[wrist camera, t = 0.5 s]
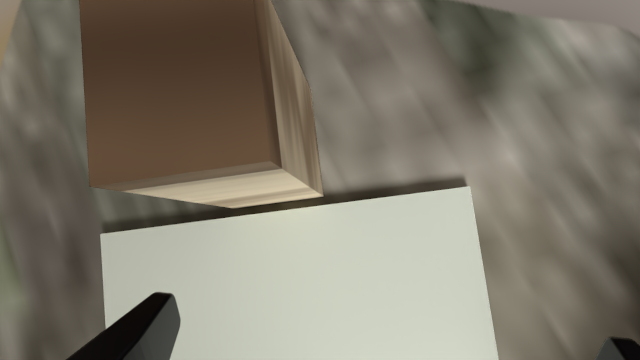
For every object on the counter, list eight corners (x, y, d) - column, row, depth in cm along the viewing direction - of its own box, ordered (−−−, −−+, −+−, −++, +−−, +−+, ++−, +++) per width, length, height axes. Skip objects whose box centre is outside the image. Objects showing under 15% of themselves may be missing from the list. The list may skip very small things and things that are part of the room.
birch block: (323, 196, 24) (270, 160, 11) (234, 208, 24) (89, 186, 12) (310, 89, 24) (247, -54, 12) (224, 103, 25) (77, -21, 13)
